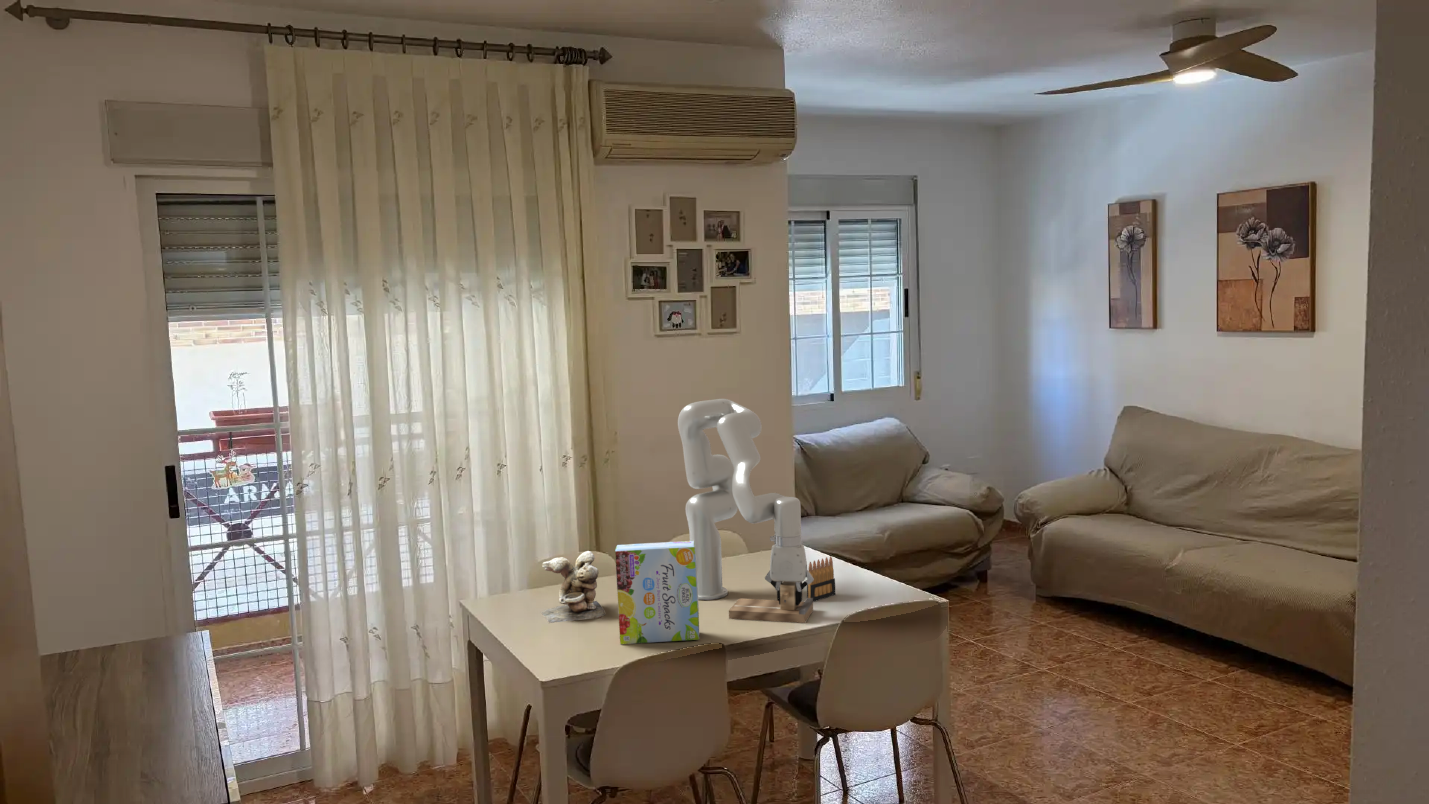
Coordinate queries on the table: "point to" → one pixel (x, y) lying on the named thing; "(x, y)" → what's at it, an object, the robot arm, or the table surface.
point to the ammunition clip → (821, 580)
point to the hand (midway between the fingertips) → (789, 603)
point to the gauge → (788, 596)
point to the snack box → (657, 592)
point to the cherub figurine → (575, 589)
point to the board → (770, 611)
